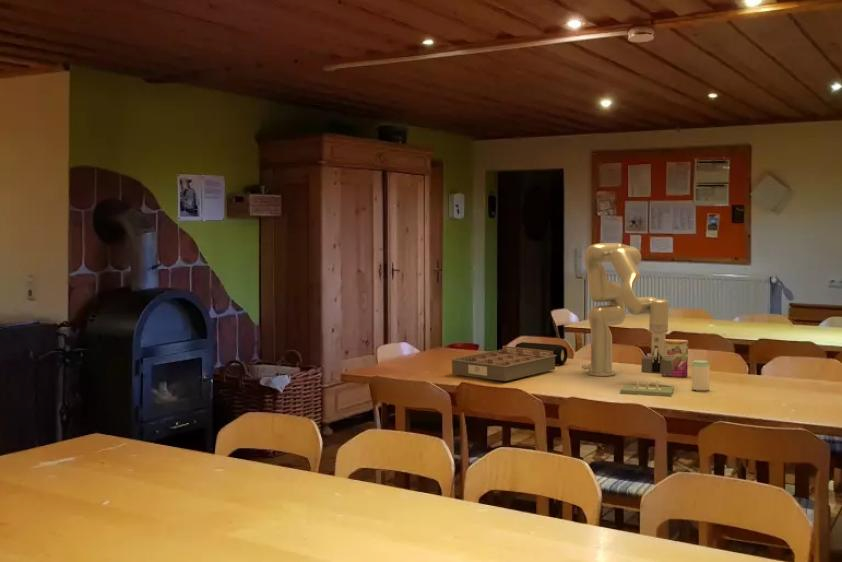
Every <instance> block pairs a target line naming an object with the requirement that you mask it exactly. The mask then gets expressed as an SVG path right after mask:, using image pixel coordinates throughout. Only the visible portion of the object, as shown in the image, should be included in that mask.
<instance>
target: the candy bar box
mask: <svg viewBox="0 0 842 562" xmlns="http://www.w3.org/2000/svg"><path fill="white" fill-rule="evenodd" d="M662 357H663V358H673V366H672V373H671V375H665V374H661V377H667V376H669V378H670V377H671V378H688V375H689V374H688V373H689V371H688V370H689V369H688V367H689V363H688V362H689V340H687V339H670V338H667V339H666V338H665V354H664V356H662Z"/></svg>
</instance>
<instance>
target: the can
mask: <svg viewBox="0 0 842 562" xmlns="http://www.w3.org/2000/svg"><path fill="white" fill-rule="evenodd" d="M710 368H711V366H710V364H709V361H708V360H705V359H704V360H701V359H700V360H698V359H697V360H696V359H695V360H693V361H692V364H691V389H692V390H693V391H695V390H696V391H695V392H708V391H709V390H710V378H711V377H710V376H711V375H710V374H711V372H710Z"/></svg>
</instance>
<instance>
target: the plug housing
mask: <svg viewBox="0 0 842 562" xmlns="http://www.w3.org/2000/svg"><path fill="white" fill-rule="evenodd" d="M652 362H653V356H650V355H643V356H642V357H641V371H640V372H641V373H642V374H643V373H645V374H653V375H656V374H657V375H662V374H665V375H671V373H672V366H673V358H663V357H660V372H652Z"/></svg>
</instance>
